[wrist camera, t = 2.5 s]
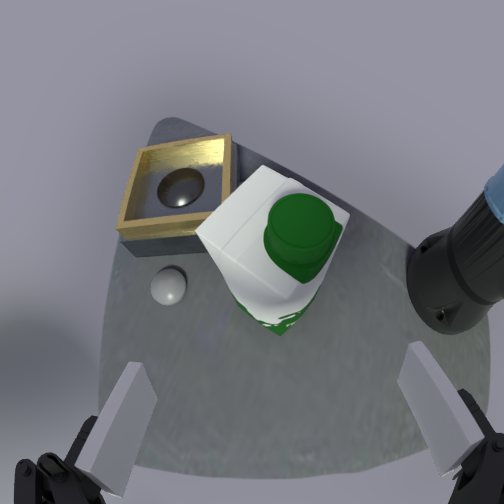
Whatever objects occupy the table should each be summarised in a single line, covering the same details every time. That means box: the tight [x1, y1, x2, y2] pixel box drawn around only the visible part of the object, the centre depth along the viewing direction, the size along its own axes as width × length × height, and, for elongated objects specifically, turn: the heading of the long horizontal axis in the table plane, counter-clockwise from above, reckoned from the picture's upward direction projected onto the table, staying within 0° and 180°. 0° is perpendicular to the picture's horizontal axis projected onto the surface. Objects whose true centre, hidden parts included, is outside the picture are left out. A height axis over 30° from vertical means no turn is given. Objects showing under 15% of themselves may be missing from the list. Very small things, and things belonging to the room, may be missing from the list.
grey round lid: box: [151, 269, 187, 306], centre depth 36 cm, size 5×5×1 cm
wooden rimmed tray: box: [116, 134, 245, 257], centre depth 38 cm, size 19×16×8 cm
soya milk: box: [195, 165, 350, 336], centre depth 25 cm, size 9×9×20 cm
